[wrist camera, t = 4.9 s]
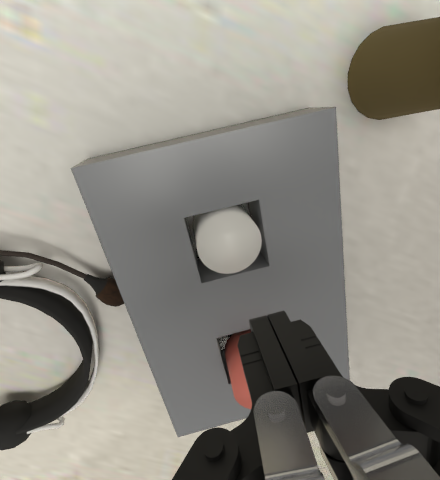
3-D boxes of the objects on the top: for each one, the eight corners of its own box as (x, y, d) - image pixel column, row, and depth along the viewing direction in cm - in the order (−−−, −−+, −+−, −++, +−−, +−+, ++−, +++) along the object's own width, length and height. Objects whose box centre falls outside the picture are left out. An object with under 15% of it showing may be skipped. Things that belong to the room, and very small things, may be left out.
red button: (272, 320, 25) (290, 355, 21) (279, 360, 27) (296, 400, 23) (219, 334, 25) (227, 372, 21) (230, 374, 26) (239, 416, 23)
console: (308, 107, 22) (335, 107, 19) (329, 357, 32) (350, 388, 28) (87, 158, 22) (70, 168, 18) (177, 398, 31) (177, 437, 27)
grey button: (243, 191, 24) (256, 206, 20) (252, 242, 25) (265, 264, 22) (186, 205, 24) (189, 222, 20) (200, 256, 25) (205, 280, 22)
